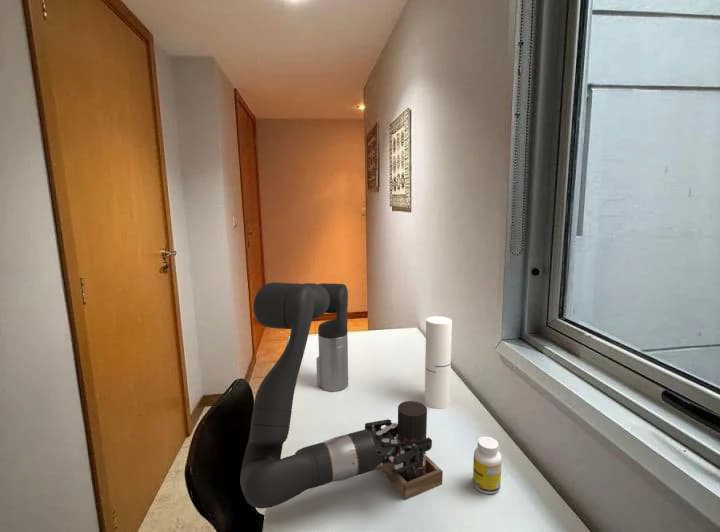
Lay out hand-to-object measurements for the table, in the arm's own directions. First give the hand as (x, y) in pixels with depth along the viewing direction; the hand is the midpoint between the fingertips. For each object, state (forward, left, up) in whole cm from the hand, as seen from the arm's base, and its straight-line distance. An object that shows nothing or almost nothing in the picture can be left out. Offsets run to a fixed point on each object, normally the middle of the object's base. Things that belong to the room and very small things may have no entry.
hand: (421, 434), depth 81 cm
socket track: (-5, +1, -9) cm, 11 cm away
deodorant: (-2, -2, -9) cm, 9 cm away
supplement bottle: (+13, +1, -10) cm, 16 cm away
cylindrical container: (-2, +31, -10) cm, 33 cm away
